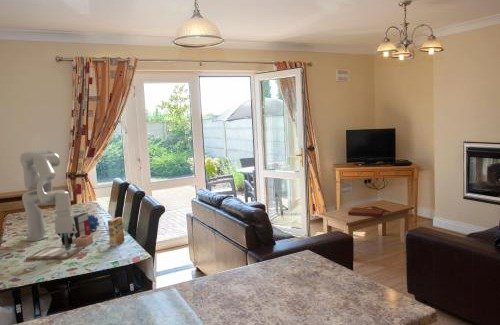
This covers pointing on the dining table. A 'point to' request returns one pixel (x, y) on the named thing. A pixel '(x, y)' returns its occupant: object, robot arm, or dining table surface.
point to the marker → (66, 241)
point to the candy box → (116, 231)
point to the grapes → (92, 222)
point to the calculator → (82, 225)
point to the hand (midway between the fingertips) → (67, 243)
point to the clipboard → (55, 253)
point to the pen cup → (84, 240)
